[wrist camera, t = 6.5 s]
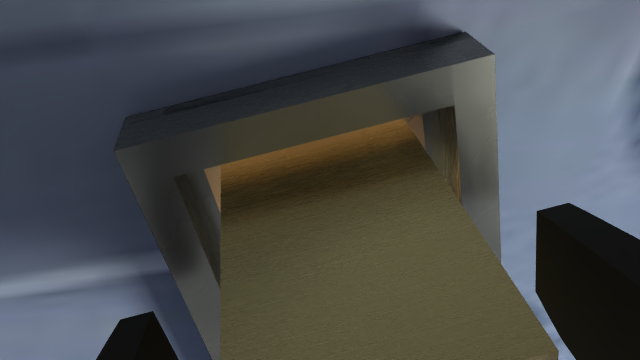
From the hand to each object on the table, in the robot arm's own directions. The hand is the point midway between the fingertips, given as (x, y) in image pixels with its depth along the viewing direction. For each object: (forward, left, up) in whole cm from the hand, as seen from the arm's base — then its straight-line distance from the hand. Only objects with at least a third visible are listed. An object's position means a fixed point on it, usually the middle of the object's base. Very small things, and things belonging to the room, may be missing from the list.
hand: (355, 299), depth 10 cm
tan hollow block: (0, 0, -2) cm, 3 cm away
